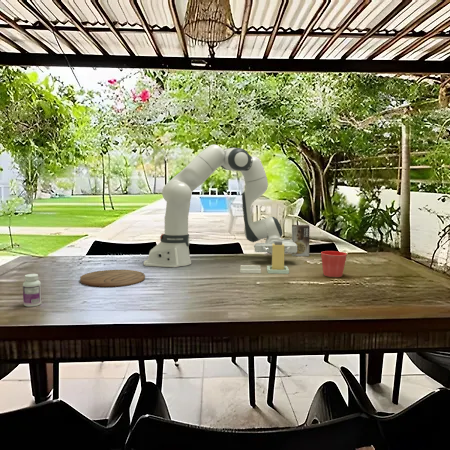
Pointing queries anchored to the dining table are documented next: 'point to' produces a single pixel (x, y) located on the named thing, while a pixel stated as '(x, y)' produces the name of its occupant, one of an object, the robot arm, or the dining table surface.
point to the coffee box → (301, 239)
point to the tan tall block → (277, 255)
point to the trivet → (112, 278)
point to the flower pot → (333, 263)
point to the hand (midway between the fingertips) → (276, 250)
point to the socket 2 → (285, 271)
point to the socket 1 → (250, 269)
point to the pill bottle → (32, 290)
